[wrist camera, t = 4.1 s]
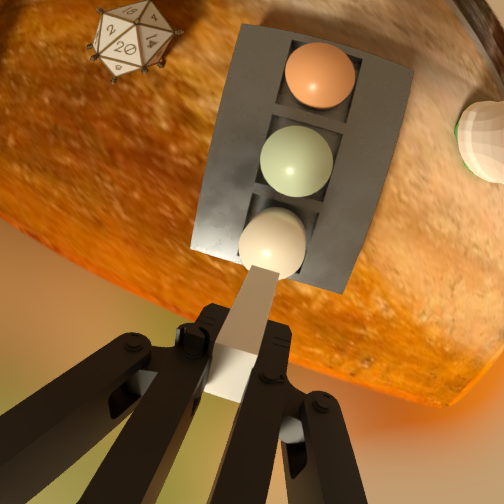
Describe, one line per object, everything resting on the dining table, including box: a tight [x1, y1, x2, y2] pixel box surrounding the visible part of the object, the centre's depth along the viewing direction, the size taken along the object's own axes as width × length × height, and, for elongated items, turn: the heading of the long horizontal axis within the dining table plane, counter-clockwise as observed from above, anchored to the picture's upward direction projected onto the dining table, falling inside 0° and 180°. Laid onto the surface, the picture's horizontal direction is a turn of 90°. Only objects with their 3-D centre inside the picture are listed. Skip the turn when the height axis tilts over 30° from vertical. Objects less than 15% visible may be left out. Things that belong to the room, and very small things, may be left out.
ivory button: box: [238, 207, 306, 280], centre depth 24 cm, size 5×5×3 cm
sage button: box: [260, 126, 333, 197], centre depth 21 cm, size 5×5×3 cm
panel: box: [190, 24, 414, 294], centre depth 25 cm, size 14×20×4 cm
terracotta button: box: [285, 42, 355, 110], centre depth 19 cm, size 5×5×3 cm
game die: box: [85, 0, 184, 85], centre depth 21 cm, size 9×8×10 cm
